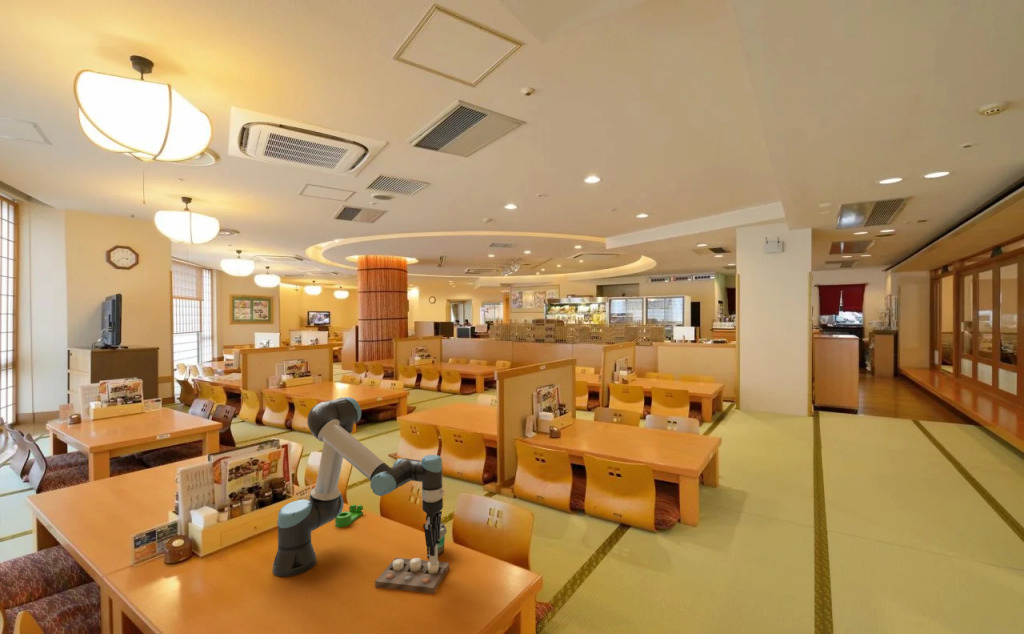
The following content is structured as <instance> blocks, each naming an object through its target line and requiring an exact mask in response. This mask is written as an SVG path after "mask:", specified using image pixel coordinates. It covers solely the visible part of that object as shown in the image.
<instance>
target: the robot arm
mask: <svg viewBox="0 0 1024 634" xmlns="http://www.w3.org/2000/svg"><path fill="white" fill-rule="evenodd" d="M361 417H362V407H361V405H359V402H358V401H357V400H356V399H355V398H353V397H350V396H349V397H348V396H345V397H339V398H335V399H331V400H326V401H321V402H318V403H316V404H315V405H313V407H312V408H311V409H310V410H309V412H308V415H307V421H306V424H307V427H308V429H309V431H310V433H311V434H312V436H313V437H315V439H317V440H318V441H319V442H323V445H322V446H323V447H322V450H321V451H322V452H321V456H320V461H319V466H318V472H317V477H316V478H317V479H316V482H315V486H314V487H313V488H312V489H311V491H310V493H309V499H297V500H296V501H294V500H293V501H291V502H289V503H287V504H284V505H283V506H282V507H281V508H280V510H279V512H278V514H277V521H276V525H277V550H276V554H275V556H274V560H273V563H272V573H273V574H274V575H275V576H277V577H283V578H284V577H294V576H297V575H301V574H303V573H305V572H308V571H309V570H311V569H312V568H313V567H314V566H315V565H316V563H317V554H316V551H315V550H314V547H313V544H312V532H313V531H315V530H317V529H319V528H321V527H323V526H324V525H326V524H328V523H330V522H332V521H335V518H336V517H338V516H339V515H340V513H341V512H343V509H344V498H343V495H342V493H341V491H340V488H338V486H339V481H340V478H341V477H340V476H341V471H342V470H341V469H342V465H343V460H344V459H345V461H347V462H348V463H350V465H352V466H353V467H354V468H355V469H356V470H358V471H359V472H360V473H361V474H362V475H364V476H365V478H367V479H368V480H369V481H370V489H371V490H372V493H373V494H374V495H376V496H379V497H382V496H385V495H388V494H391V493H392V492H393V491H394V490H396V489H398V488H400V487H402V486H403V485H406V484H407V483H409V482H421V490H422V491H421V499H422V503H421V505H422V508H421V509H422V511H423V512H424V513H426V516H425V520H426V523H424V524H423V525H422V528H423V530H424V537H425V538H424V539H425V546H426V548H427V547H429V558H428V559H429V560H428V561H429V563H430V564H437V562H439V560H438V558H439V557H438V546H437V543H438V544H439V543H440V541H438V539H440V527H441V523H442V515H443V508H444V499H443V493H444V492H445V490H444V489H443V460H442V459H443V458H442V457H441V456H440V455H438V454H437V455H436V454H432V455H431V454H428V455H425V456H423V457H422V459H421V460H419V459H412V458H406V457H405V458H397V460H396V461H395V462H394V463H393V464H392V466H389V465H388V464H387V463H386V462H385V461H383V460H382V459H381V458H380V457H379V456H377V455H376V454H375V453H374V452H373V451H371V450H370V449H369V448H368V447H367V446H365V445H364V444H363V443H362V442H361V441H360V440H359V439H357V438H356V437H355V436H353V435H352V433H353V429H354V425H355V424H357V423H358V422H359V421H360V420H361Z"/></svg>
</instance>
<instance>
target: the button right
mask: <svg viewBox="0 0 1024 634" xmlns="http://www.w3.org/2000/svg"><path fill="white" fill-rule="evenodd" d="M439 562H440V561H438V562H437V564H430V563H429V562H428V574H431V575H438V573H439Z"/></svg>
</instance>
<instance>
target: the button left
mask: <svg viewBox="0 0 1024 634" xmlns="http://www.w3.org/2000/svg"><path fill="white" fill-rule="evenodd" d="M393 560H394V559H393ZM393 560H392V561H393ZM403 569H404V560H402V559H397V560H394V561H393V570H394V571H402V570H403Z"/></svg>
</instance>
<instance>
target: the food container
mask: <svg viewBox="0 0 1024 634" xmlns="http://www.w3.org/2000/svg"><path fill="white" fill-rule="evenodd" d="M447 532H448V531H447V527H446V524H444V523H443V522H441V527H440V539H438V541H440V543H439V544H438V543H437V546H438V558H439V557H441V556H442V555H443V554H444V552H445V540H446V534H447ZM426 558H427V559H429V547H426Z"/></svg>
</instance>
